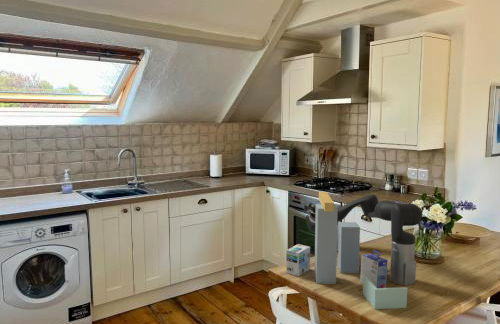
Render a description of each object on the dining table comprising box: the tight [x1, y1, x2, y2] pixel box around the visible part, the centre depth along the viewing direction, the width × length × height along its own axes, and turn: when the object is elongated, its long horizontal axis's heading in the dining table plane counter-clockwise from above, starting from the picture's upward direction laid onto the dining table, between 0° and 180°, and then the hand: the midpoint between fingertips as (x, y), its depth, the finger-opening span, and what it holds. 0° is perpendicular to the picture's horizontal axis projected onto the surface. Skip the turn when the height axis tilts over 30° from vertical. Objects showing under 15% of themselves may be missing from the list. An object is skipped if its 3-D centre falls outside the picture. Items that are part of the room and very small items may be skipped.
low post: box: [337, 221, 361, 274], centre depth 180 cm, size 8×8×21 cm
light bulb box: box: [285, 243, 311, 277], centre depth 179 cm, size 11×7×11 cm, turn 143°
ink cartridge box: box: [359, 249, 388, 288], centre depth 164 cm, size 10×6×14 cm, turn 28°
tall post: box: [314, 203, 338, 285], centre depth 169 cm, size 8×8×32 cm
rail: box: [318, 191, 334, 212], centre depth 169 cm, size 22×4×4 cm, turn 176°
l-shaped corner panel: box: [362, 276, 408, 310], centre depth 151 cm, size 12×12×8 cm
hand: (320, 205), depth 187 cm, fingers open, 8 cm apart
